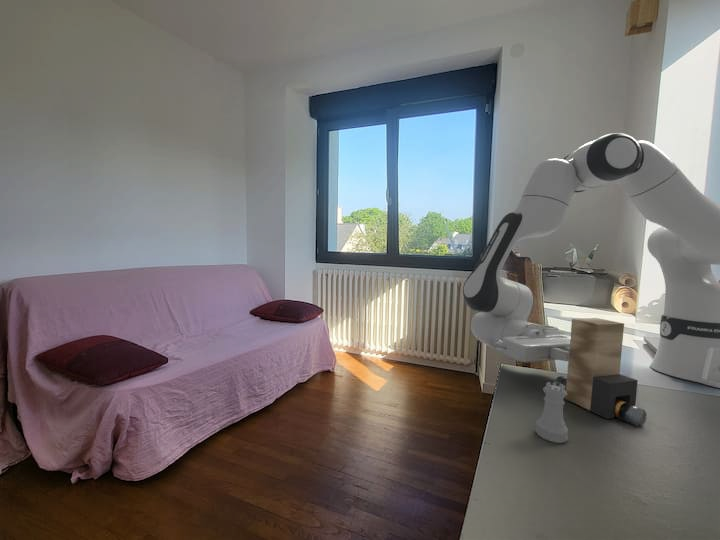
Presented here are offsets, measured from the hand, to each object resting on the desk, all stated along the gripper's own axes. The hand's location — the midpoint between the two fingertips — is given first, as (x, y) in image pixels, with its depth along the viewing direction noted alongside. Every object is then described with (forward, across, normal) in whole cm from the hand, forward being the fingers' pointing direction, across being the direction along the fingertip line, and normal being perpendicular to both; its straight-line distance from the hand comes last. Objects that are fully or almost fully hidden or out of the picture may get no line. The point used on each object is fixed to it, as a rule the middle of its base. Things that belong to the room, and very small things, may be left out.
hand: (581, 359), depth 66 cm
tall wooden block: (+2, 0, +8) cm, 8 cm away
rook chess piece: (+9, -18, +8) cm, 22 cm away
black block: (+6, 0, +8) cm, 10 cm away
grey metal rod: (+4, 0, +8) cm, 9 cm away
